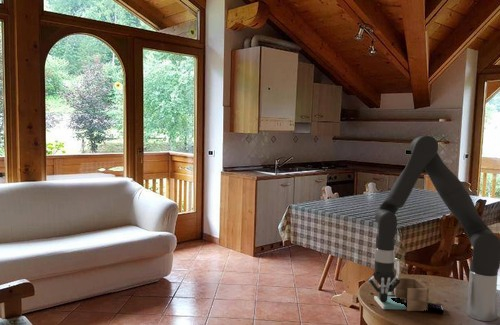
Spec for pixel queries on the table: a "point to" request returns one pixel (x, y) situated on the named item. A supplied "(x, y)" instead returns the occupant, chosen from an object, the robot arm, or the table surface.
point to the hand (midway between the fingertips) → (383, 301)
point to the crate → (412, 294)
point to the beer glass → (396, 272)
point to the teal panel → (389, 303)
